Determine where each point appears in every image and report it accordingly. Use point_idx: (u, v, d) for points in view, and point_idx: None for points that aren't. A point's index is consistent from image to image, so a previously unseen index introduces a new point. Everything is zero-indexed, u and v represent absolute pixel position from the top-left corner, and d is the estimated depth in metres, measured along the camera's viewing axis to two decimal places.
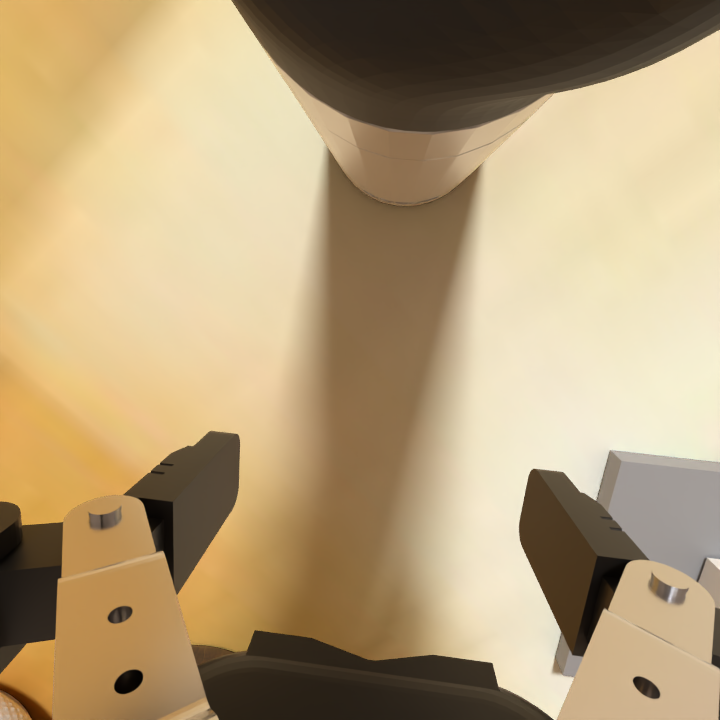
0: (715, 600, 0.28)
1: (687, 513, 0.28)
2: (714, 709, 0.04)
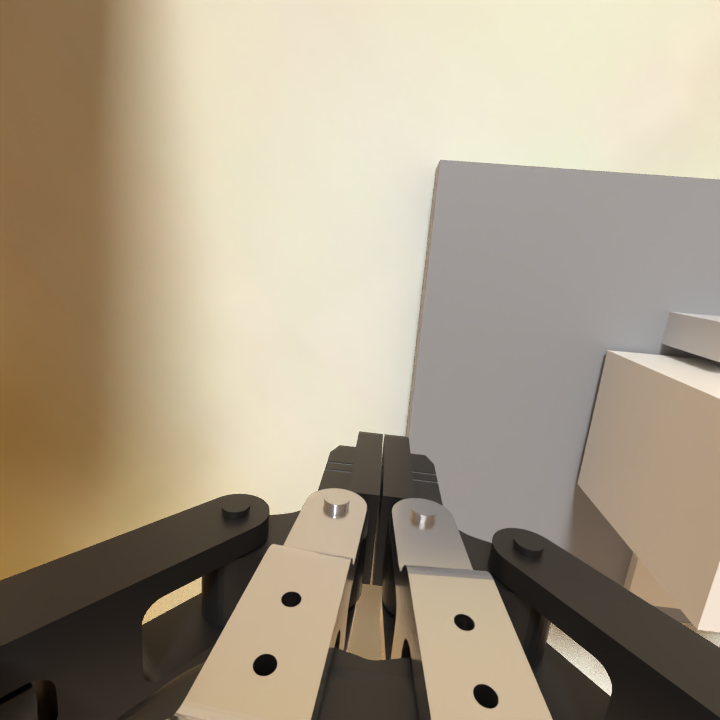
0: (617, 414, 0.15)
1: (567, 264, 0.16)
2: (503, 609, 0.05)
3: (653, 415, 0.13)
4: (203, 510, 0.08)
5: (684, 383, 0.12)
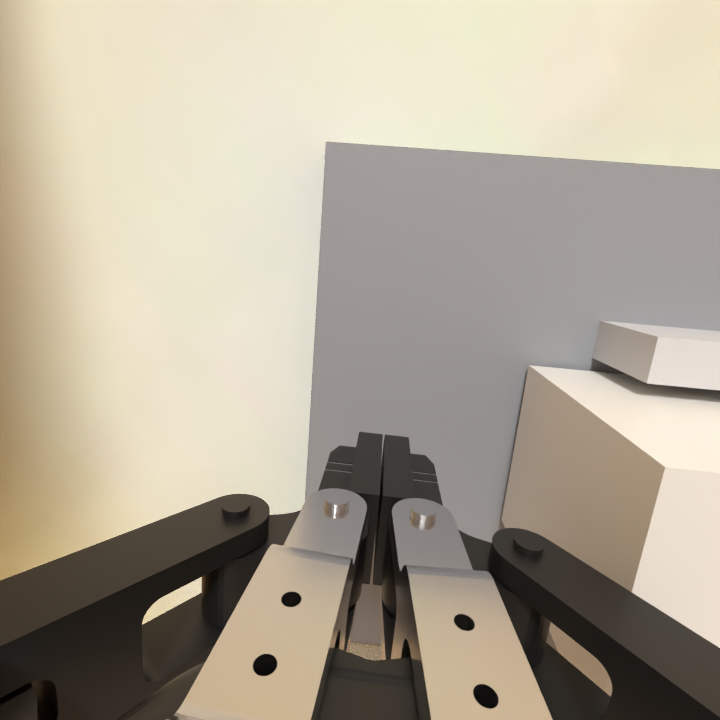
0: (534, 442, 0.13)
1: (478, 264, 0.13)
2: (503, 609, 0.05)
3: (563, 447, 0.11)
4: (203, 510, 0.08)
5: (591, 410, 0.10)
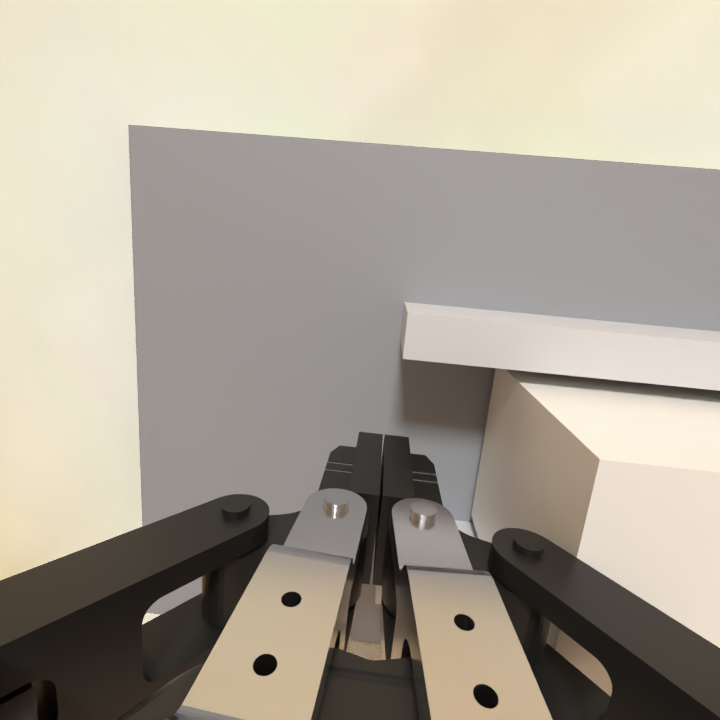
0: (498, 437, 0.13)
1: (284, 246, 0.14)
2: (503, 609, 0.05)
3: (520, 442, 0.11)
4: (203, 510, 0.08)
5: (543, 405, 0.10)
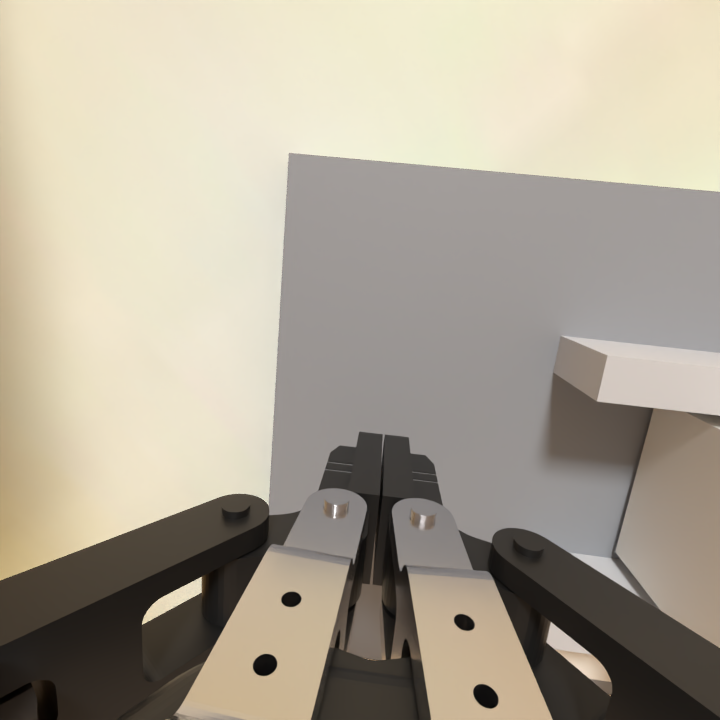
0: (672, 478, 0.12)
1: (440, 277, 0.13)
2: (503, 609, 0.05)
3: None
4: (203, 510, 0.08)
5: None
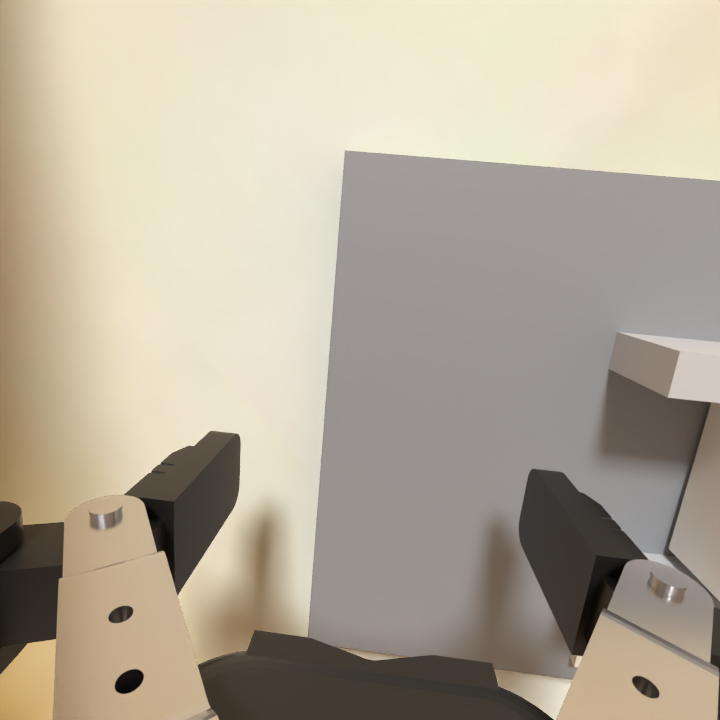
0: None
1: (496, 274, 0.13)
2: (713, 709, 0.04)
3: None
4: None
5: None
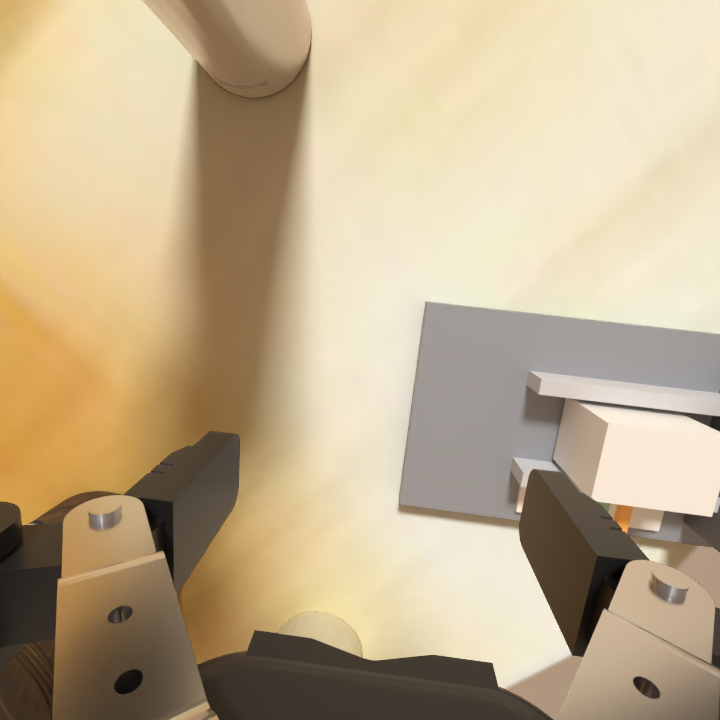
0: (569, 424, 0.34)
1: (482, 348, 0.35)
2: (714, 709, 0.04)
3: (581, 423, 0.32)
4: None
5: (590, 410, 0.31)
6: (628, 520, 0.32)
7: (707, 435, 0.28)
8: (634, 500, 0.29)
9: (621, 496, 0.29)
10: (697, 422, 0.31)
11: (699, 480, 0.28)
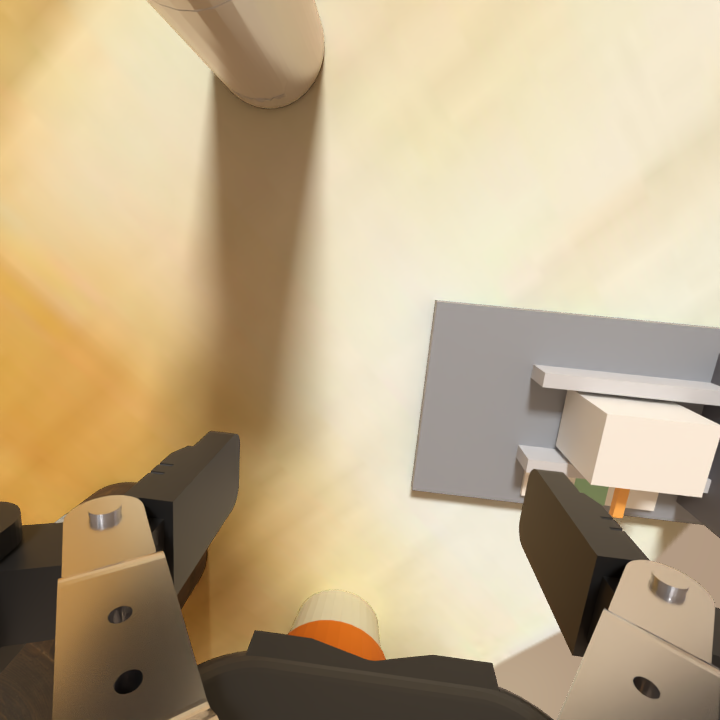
0: (570, 413, 0.36)
1: (489, 344, 0.37)
2: (714, 709, 0.04)
3: (582, 413, 0.34)
4: None
5: (590, 402, 0.33)
6: (625, 501, 0.34)
7: (698, 423, 0.30)
8: (631, 483, 0.32)
9: (619, 480, 0.32)
10: (689, 411, 0.33)
11: (690, 464, 0.31)
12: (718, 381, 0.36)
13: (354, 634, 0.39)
